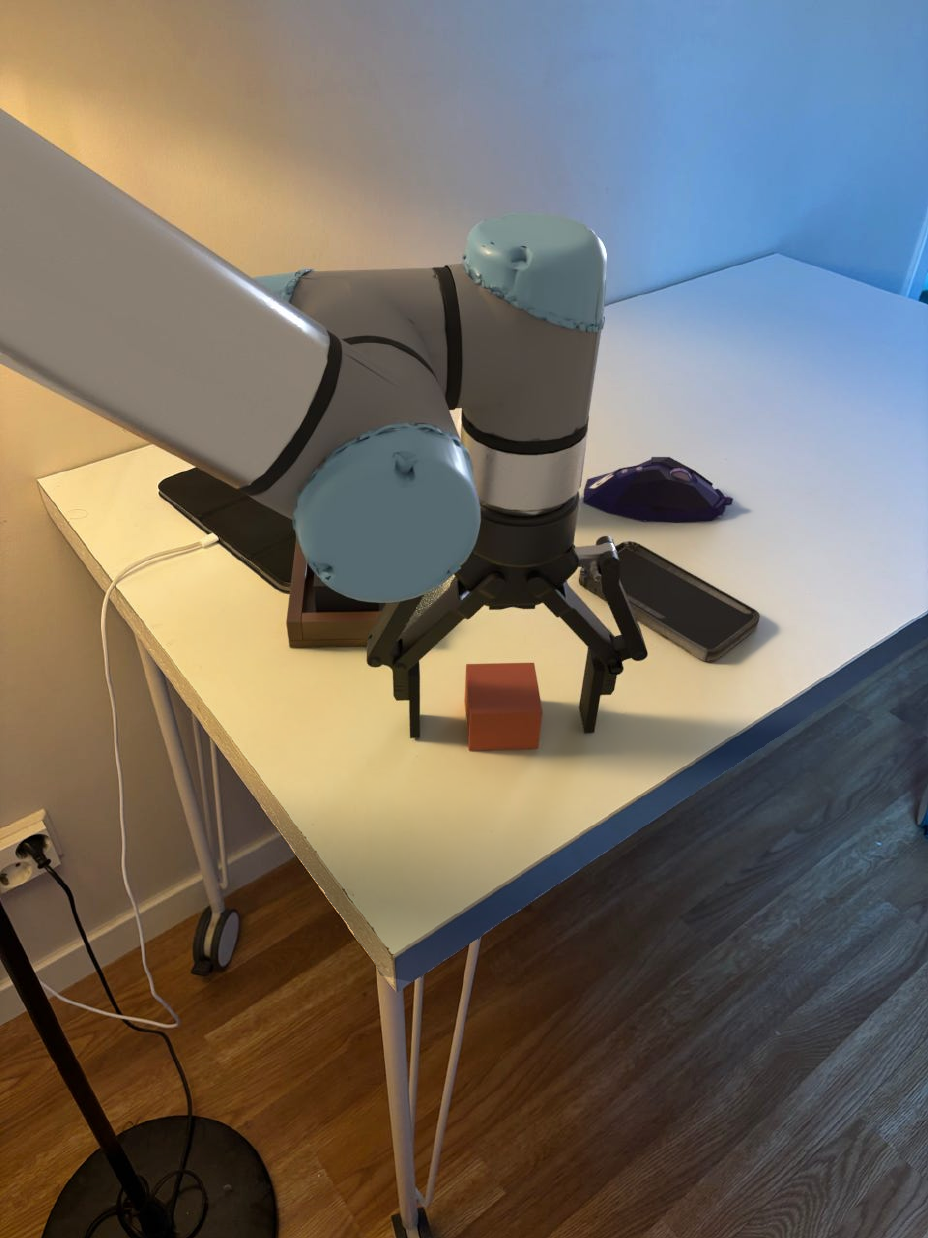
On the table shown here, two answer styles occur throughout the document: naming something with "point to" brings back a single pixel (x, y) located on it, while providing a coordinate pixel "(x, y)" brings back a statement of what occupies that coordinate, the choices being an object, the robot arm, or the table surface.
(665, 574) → the phone
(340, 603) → the black block
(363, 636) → the frame
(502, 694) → the pad
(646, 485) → the computer mouse
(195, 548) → the table surface
